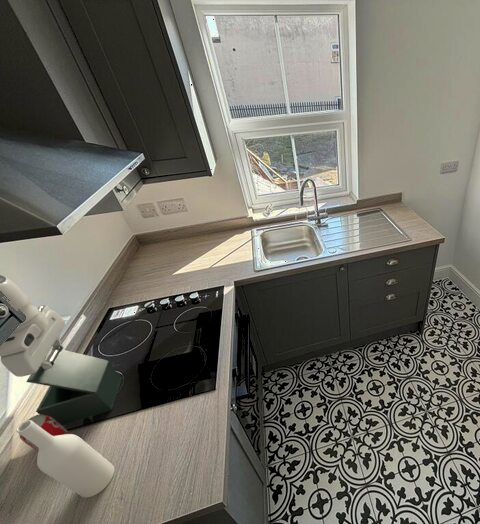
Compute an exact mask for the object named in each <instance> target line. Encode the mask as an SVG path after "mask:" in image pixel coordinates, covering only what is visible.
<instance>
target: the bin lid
mask: <svg viewBox="0 0 480 524" xmlns="http://www.w3.org/2000/svg"><path fill="white" fill-rule="evenodd" d="M52 348H53V346H52V347H51V349H50V351H49V352H48V354H47V356H46V357H45V359H46V362H48V361H52V362H53V363H54V365H53V367H52V368H51V369H47V370H45V369H44V368H43V367H42V366H40V367H39V369H38V370H37V372H36V373H34V374H31V375H28V378H27V379H26V381H25V382H26V383H29V384H34V385H35V384H36V385H41V386H46V387H47V386H48V387H49V386H52V387H58V388H64V389H70V390H76V391H81V392H87V393H93V394H95V393H96V391H97V389H98V386H99V383H100V381H101V378H102V376H103V373H104V371H105V368H106V366H107V363H108V362H109V360H107V359H104V358H99V357H95V356H91V355H87V354H83V353H79V352H74V351H70V350H66V349H63V350H62V351H61V352H60V350H59V349H53V350H52Z"/></svg>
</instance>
